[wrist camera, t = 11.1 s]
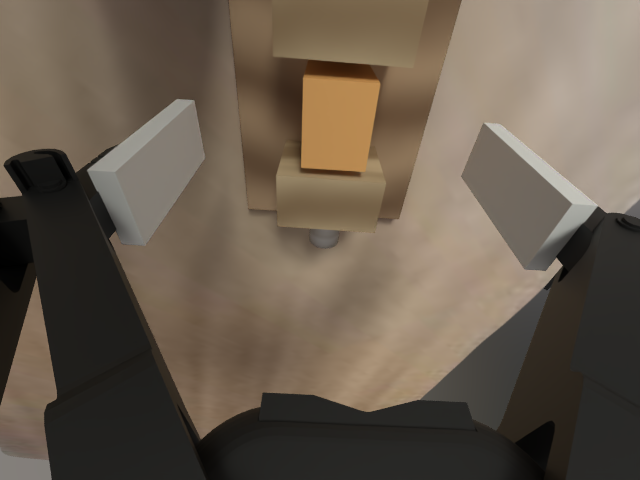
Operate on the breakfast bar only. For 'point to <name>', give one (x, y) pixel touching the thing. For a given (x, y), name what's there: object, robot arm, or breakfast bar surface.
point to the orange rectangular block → (338, 115)
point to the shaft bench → (287, 99)
